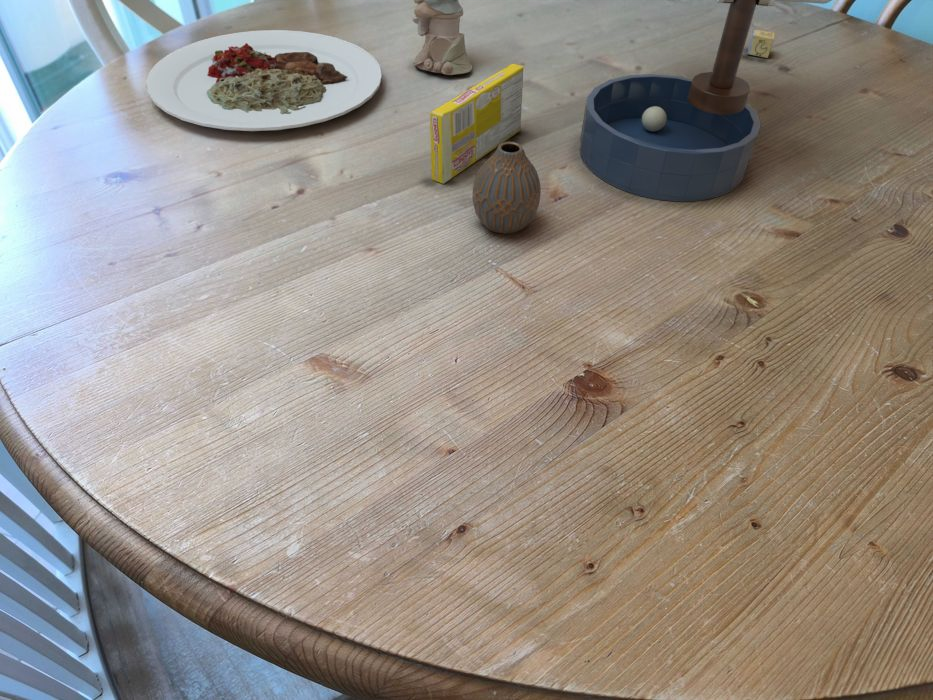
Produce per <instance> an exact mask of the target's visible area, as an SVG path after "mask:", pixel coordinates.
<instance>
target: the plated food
mask: <svg viewBox="0 0 933 700" xmlns="http://www.w3.org/2000/svg"><path fill="white" fill-rule="evenodd" d="M382 79H383V75H382V69H381V65H380V64H379V62H378V61H377V59H376V58H375V57H374V56H373V55H372V54H370V52H368V51H367V50H365V49H364V48H362V47H361V46H358V45H356V44H355V43H353V42H349V41H348V40H344V39H341V38H340V37H335V36H331V35H327V34H322V33H317V32H309V31H301V30H287V29H286V30H285V29H269V30H268V29H266V30H265V29H263V30H249V31H240V32H233V33H227V34H221V35H216V36H212V37H209V38H205V39H201V40H198V41H195V42H192V43H190V44H189V43H188V44H186V45H184V46H182V47H179V48H178V49H176V50H174V51H172V52H170V53H168V54H167V55H165V56H164V57H163V58H161V59H160V60H159V61H157V62H156V63H155V64H154V66H153V67H152V68H151V70H149V72H148V75H147V78H146V80H145V82H146V83H145V84H146V90H147V95H148V96H149V98H150V99H151V101H152V102H153V103H154V105H155V106H157V107H158V108H159V109H161V110H162V111H163V112H165V114H168V115H170V116H172V117H174V118H177V119H179V120H181V121H184V122H187V123H191V124H195V125H198V126H201V127H207V128H213V129H219V130H227V131H243V132H261V131H281V130H287V129H294V128H302V127H306V126H307V127H308V126H311V125H315V124H320V123H323V122H327V121H330V120H332V119H335V118H338V117H342V116H344V115H346V114H348V113H350V112H352V111H354V110H355V109H358V108H359V107H361V106H362V105H364V104H365V103H366V102H368V101H369V100H371V99H372V98H373V96H374V95H375V94H376V93H377V91H378V90H379V89H380V86H381V82H382Z"/></svg>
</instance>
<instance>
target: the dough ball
mask: <svg viewBox="0 0 933 700" xmlns="http://www.w3.org/2000/svg"><path fill="white" fill-rule="evenodd" d="M666 119H667V117H666V113H665V111H664V110H663V109H662V108H660V107H657V106H653V107H650V108H648V109H647V110H645V112H644V113H643V115H642V124H643V126H644V128H645V129H647V130H648V131H652V132H655V131H658V130H660V129H662V128H663V127H664V125H665V123H666Z"/></svg>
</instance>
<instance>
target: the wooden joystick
mask: <svg viewBox="0 0 933 700" xmlns="http://www.w3.org/2000/svg"><path fill="white" fill-rule="evenodd" d="M757 1H758V0H734V2H733V3H729V6H728V11H727V13H726V14H727V15H726V19H725V23H724V27H723V29H722V32H721V33H722V34H721V37H720V41H719V44H718V49H717V52H716V55H715V59H714V64H713V67H712V71H706V72H705V71H704V72H701V73H698V74H695V75H694V76H693V77H692V78H691V79H692V82H691V86H690V90H689V94H688V101H689V102H690V104H691V105H693V106H694V107H696V108H698V109H700V110H702V111H705V112H709V113H713V114H722V115H728V114H735V113H739V112H741V111H742V110H743V109H744V108H745V105H746V102H747V103H748V100H749V95H750V92H751V85H750V84H749V83H748V82H747V81H746V80H745V79H743V78H742V77H739V76H737V74H738V69H739V67H740V63H741V59H742V55H743V53H744V48H745V46H746V42H747V38H748V35H749V31H750V28H751V24H752V21H753V19H754V18H753V17H754V14H755V11H756V7H757Z"/></svg>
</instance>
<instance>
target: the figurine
mask: <svg viewBox="0 0 933 700" xmlns="http://www.w3.org/2000/svg"><path fill="white" fill-rule="evenodd" d="M413 2H414V4H417V5H416V6H415V7H414V10H413V13H414V17H413V18H412V22H413V23H414V24H416V25H417V35H419V36H420V37H424V44H423V45H422V48H421V49H420V51H419V52H418V53H417V55H416V56H415V58H414V61H413V65H414V67H416V68H418V69H419V70H423V71H427V72H431V73H434V74H435V73H436V74H440V75H442V74H443V75H447V76H454V75H463V74H467V73H469V72H472V70H473V65H472V64H471V62H470V60H469V58H468V53H467V49H466V41H465V34H464V33H462V32H461V33H460V23H461V18H462V16H464V8H463V7H462V5H461V4H460V2H459V0H413Z"/></svg>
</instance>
